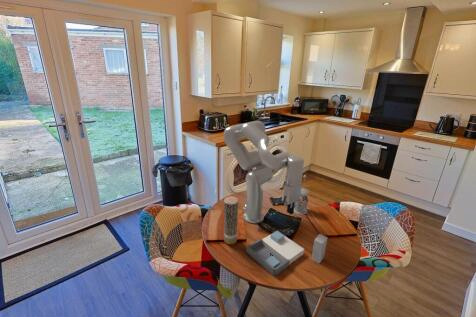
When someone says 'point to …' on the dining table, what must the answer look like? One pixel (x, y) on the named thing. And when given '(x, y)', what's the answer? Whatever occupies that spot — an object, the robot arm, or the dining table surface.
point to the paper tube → (230, 219)
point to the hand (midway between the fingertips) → (290, 212)
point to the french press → (302, 208)
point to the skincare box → (319, 248)
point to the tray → (265, 257)
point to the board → (284, 248)
